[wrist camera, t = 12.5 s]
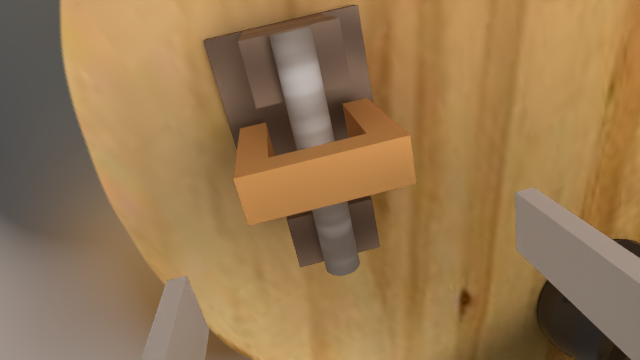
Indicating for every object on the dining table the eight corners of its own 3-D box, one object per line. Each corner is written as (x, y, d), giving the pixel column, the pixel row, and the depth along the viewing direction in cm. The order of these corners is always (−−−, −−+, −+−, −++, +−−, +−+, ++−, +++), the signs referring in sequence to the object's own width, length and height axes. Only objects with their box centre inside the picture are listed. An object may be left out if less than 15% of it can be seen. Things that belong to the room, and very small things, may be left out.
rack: (382, 183, 40) (430, 252, 29) (259, 214, 40) (260, 297, 29) (353, 5, 34) (400, 6, 23) (205, 39, 33) (179, 58, 22)
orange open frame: (373, 134, 34) (416, 183, 25) (250, 164, 33) (248, 225, 24) (367, 97, 33) (410, 135, 23) (239, 128, 32) (233, 179, 23)
